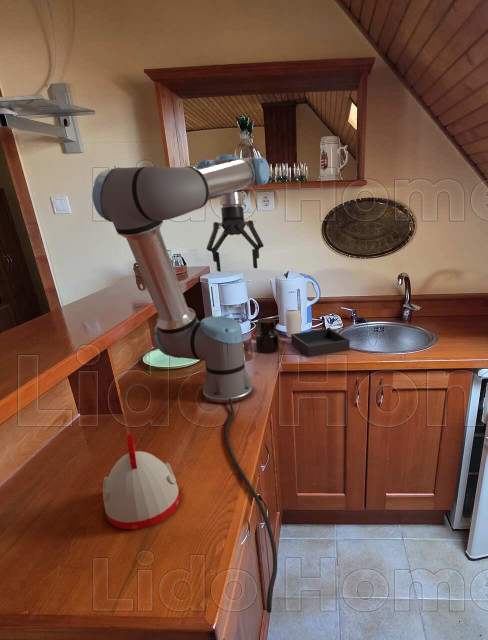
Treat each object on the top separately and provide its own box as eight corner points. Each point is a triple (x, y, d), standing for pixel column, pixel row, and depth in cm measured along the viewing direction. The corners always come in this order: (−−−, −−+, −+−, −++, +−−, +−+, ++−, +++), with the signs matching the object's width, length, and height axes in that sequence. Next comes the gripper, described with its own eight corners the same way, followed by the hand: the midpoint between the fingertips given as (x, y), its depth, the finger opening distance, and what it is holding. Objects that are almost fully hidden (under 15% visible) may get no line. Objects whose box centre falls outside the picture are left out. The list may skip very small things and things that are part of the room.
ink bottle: (283, 347, 169) (282, 318, 164) (272, 354, 162) (271, 324, 157) (263, 344, 173) (261, 316, 168) (251, 351, 166) (249, 322, 161)
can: (290, 333, 187) (289, 306, 182) (303, 334, 184) (302, 307, 179) (284, 337, 181) (282, 310, 176) (297, 338, 179) (296, 311, 174)
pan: (349, 349, 165) (349, 339, 163) (308, 356, 159) (308, 346, 157) (329, 337, 180) (329, 328, 178) (291, 343, 173) (291, 334, 172)
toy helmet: (175, 476, 92) (164, 416, 86) (184, 516, 81) (172, 450, 74) (107, 493, 88) (90, 430, 81) (105, 538, 76) (86, 469, 70)
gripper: (263, 204, 151) (266, 265, 160) (193, 207, 143) (201, 270, 151) (269, 205, 145) (273, 267, 154) (197, 207, 136) (205, 274, 145)
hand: (237, 269), depth 153 cm, fingers open, 13 cm apart
